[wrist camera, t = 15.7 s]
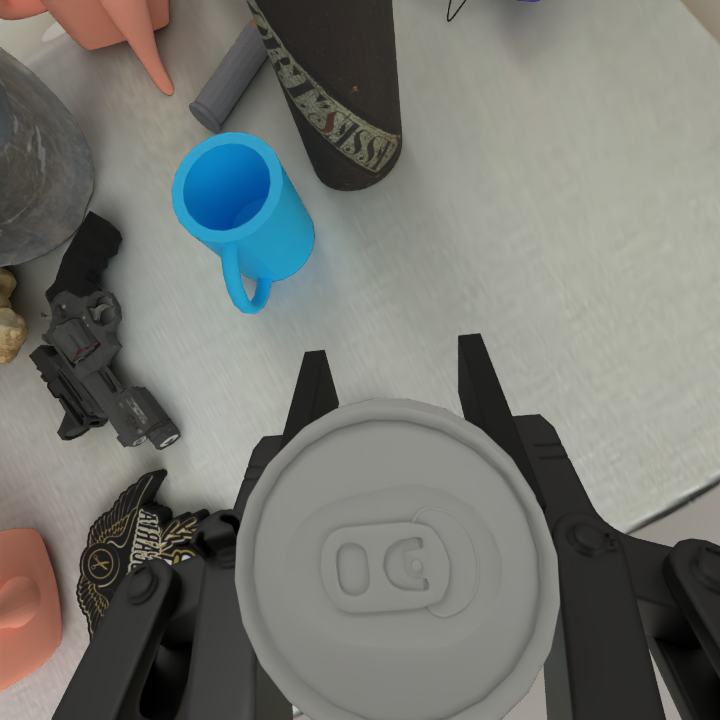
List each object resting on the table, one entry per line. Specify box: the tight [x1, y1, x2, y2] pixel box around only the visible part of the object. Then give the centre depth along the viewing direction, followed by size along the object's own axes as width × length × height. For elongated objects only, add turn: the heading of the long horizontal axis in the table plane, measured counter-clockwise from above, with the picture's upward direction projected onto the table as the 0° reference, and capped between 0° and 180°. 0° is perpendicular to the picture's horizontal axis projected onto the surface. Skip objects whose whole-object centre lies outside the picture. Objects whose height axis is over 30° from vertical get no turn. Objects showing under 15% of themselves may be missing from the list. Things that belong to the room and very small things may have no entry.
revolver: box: [29, 211, 181, 450], centre depth 33 cm, size 3×22×15 cm
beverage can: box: [235, 399, 560, 720], centre depth 11 cm, size 5×5×12 cm
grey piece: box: [189, 19, 268, 133], centre depth 35 cm, size 11×3×3 cm
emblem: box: [76, 469, 209, 642], centre depth 30 cm, size 16×2×15 cm
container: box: [247, 0, 402, 191], centre depth 24 cm, size 9×9×20 cm
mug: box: [172, 132, 315, 314], centre depth 29 cm, size 12×8×8 cm
